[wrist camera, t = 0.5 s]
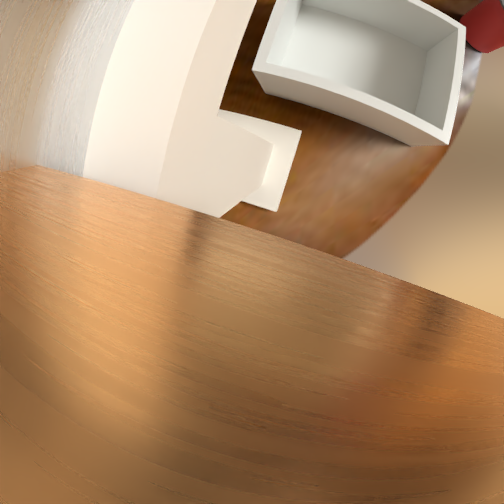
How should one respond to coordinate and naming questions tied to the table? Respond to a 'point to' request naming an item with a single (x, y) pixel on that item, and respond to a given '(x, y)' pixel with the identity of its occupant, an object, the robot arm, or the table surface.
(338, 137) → the table surface
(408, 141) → the box
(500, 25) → the beer can
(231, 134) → the stand
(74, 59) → the metal head mallet
